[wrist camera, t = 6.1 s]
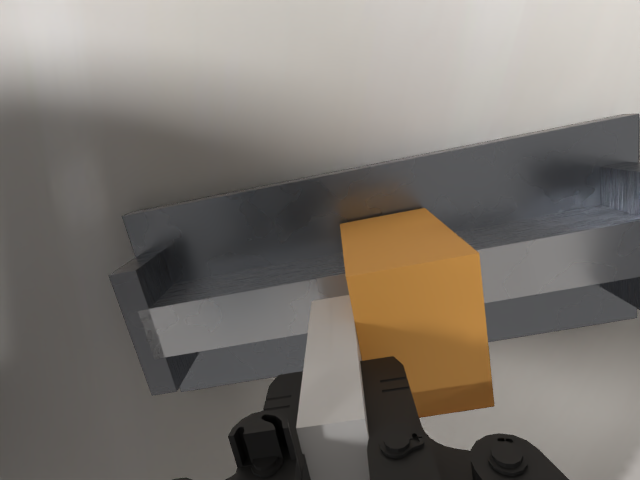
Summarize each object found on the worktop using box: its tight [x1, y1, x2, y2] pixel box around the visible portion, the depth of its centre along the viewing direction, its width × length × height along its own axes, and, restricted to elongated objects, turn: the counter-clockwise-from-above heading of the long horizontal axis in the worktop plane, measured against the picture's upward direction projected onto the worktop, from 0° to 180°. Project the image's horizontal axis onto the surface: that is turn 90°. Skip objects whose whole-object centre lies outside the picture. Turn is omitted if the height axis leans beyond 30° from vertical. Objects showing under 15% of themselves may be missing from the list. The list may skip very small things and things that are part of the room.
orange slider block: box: [340, 208, 494, 418], centre depth 16 cm, size 4×5×7 cm
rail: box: [109, 114, 640, 395], centre depth 17 cm, size 24×10×8 cm, turn 101°
